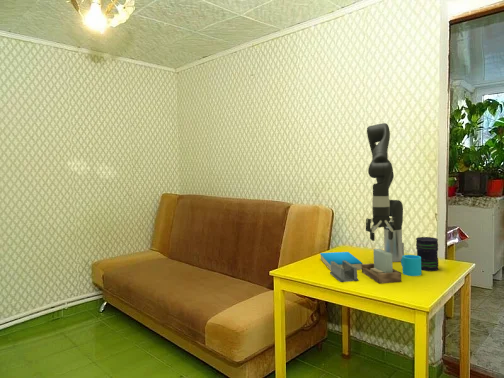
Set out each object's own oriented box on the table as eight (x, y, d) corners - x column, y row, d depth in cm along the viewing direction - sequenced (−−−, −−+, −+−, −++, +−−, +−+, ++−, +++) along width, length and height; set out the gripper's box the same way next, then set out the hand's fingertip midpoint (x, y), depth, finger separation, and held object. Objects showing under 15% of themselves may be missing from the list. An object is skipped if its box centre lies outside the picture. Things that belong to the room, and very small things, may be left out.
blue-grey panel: (379, 272, 172) (379, 248, 172) (392, 280, 160) (392, 254, 160) (374, 273, 172) (373, 249, 171) (386, 280, 160) (385, 254, 159)
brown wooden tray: (381, 270, 176) (381, 262, 175) (401, 281, 158) (401, 272, 158) (361, 272, 174) (361, 264, 174) (379, 283, 156) (378, 274, 156)
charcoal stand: (346, 272, 175) (346, 260, 175) (358, 280, 162) (357, 267, 161) (330, 273, 174) (329, 261, 174) (340, 282, 161) (340, 269, 160)
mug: (425, 275, 166) (424, 257, 165) (409, 276, 164) (409, 259, 164) (408, 268, 178) (408, 252, 177) (394, 270, 176) (394, 253, 176)
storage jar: (428, 265, 182) (428, 236, 182) (443, 269, 173) (442, 239, 172) (412, 267, 180) (411, 237, 179) (425, 272, 170) (425, 241, 170)
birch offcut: (374, 271, 169) (374, 267, 169) (383, 275, 162) (383, 271, 162) (370, 272, 169) (370, 268, 168) (379, 276, 162) (379, 272, 162)
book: (330, 264, 179) (319, 252, 204) (330, 272, 179) (319, 259, 204) (363, 262, 179) (348, 251, 204) (364, 270, 179) (349, 258, 204)
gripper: (391, 204, 169) (391, 237, 170) (362, 205, 168) (363, 239, 168) (399, 205, 162) (400, 240, 163) (369, 206, 160) (370, 242, 161)
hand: (381, 240), depth 165 cm, fingers open, 8 cm apart
